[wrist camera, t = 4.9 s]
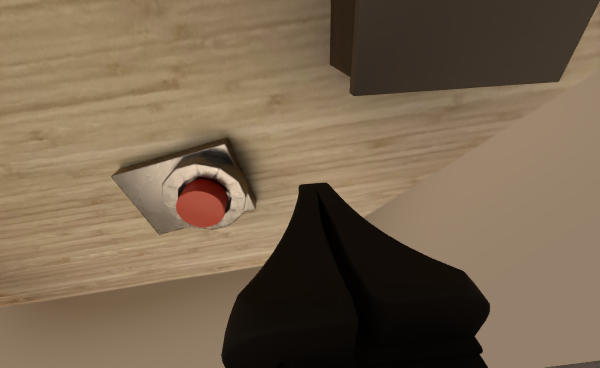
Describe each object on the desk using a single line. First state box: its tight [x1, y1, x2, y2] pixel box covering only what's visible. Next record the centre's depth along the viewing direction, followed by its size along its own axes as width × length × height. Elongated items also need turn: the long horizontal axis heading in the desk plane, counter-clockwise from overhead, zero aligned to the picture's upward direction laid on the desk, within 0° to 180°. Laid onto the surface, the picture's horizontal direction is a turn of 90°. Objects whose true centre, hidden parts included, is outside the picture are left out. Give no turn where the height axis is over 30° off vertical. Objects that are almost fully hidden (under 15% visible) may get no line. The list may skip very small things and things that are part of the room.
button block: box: [111, 138, 257, 235], centre depth 21 cm, size 10×7×3 cm
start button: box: [176, 179, 228, 227], centre depth 19 cm, size 4×4×2 cm
